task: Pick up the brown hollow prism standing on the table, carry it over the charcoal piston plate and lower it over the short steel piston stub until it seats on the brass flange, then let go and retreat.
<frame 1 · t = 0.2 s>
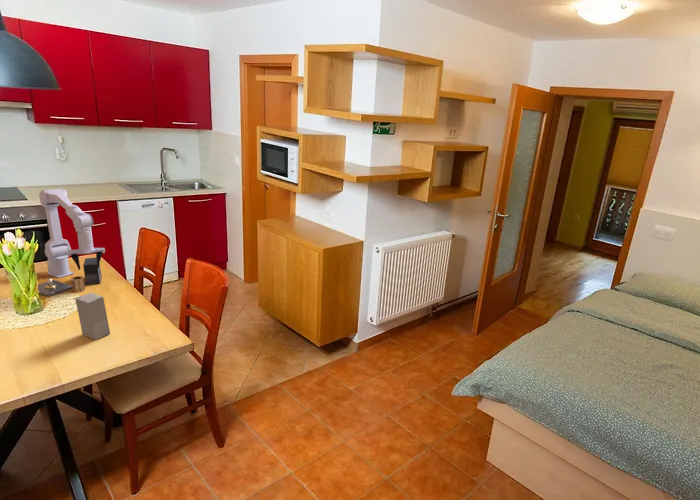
hand: (88, 268, 207), 10 cm above the table, fingers open, 7 cm apart
small box: (93, 281, 218), on the table
brown hollow prism: (79, 289, 207), on the table
skincare box: (95, 335, 169), on the table
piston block: (51, 289, 206), on the table
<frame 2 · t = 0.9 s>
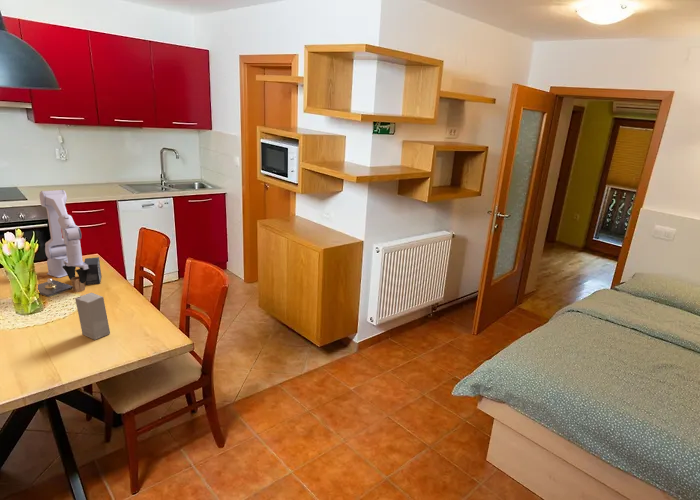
hand: (77, 281, 205), 4 cm above the table, fingers open, 7 cm apart
nothing on the table moved.
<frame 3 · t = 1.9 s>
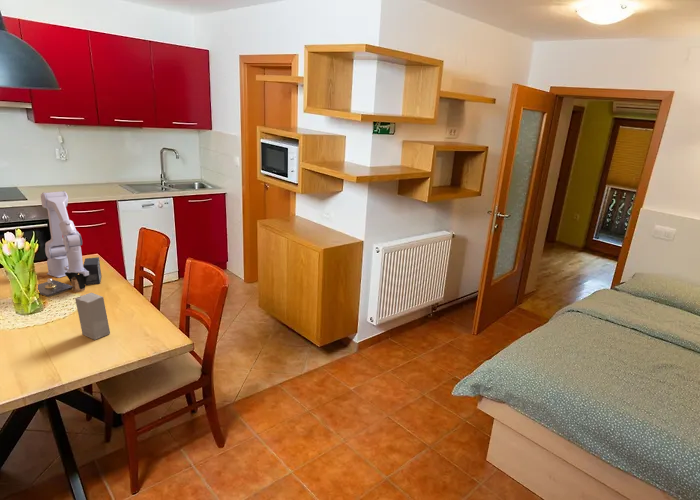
hand: (78, 287, 206), 1 cm above the table, fingers closed on brown hollow prism, 5 cm apart
brown hollow prism: (79, 289, 207), on the table, touching gripper
everything else where it was.
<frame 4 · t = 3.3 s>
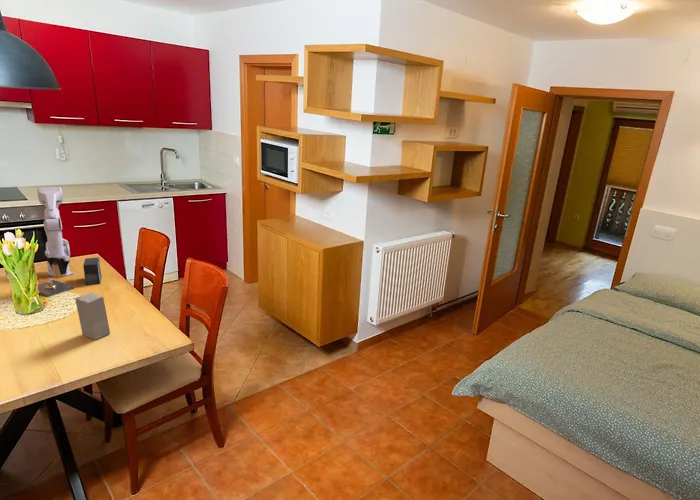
hand: (59, 272, 204), 8 cm above the table, fingers closed on brown hollow prism, 5 cm apart
brown hollow prism: (60, 275, 204), point 7 cm above the table, touching gripper
everything else where it was.
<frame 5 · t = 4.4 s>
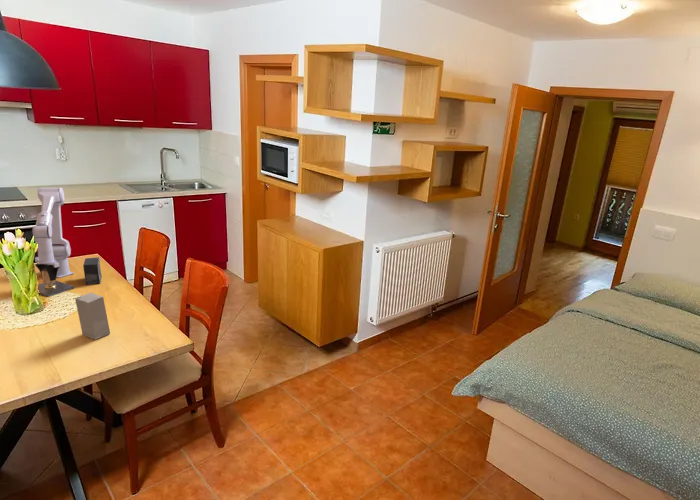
hand: (49, 278, 204), 5 cm above the table, fingers closed on brown hollow prism, 5 cm apart
brown hollow prism: (49, 281, 205), point 4 cm above the table, touching gripper
everything else where it was.
when the fingers open (4 cm above the table, at t = 5.1 s): brown hollow prism drops 1 cm, resting on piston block.
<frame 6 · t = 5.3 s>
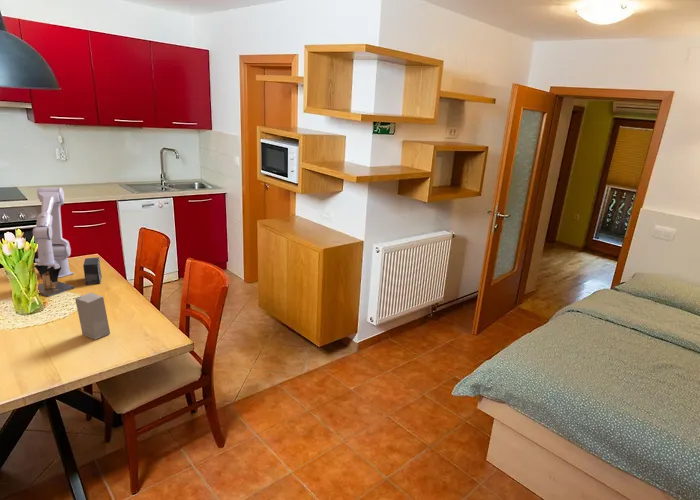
hand: (49, 280, 204), 4 cm above the table, fingers open, 7 cm apart
brown hollow prism: (50, 285, 205), point 2 cm above the table, touching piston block
everything else where it was.
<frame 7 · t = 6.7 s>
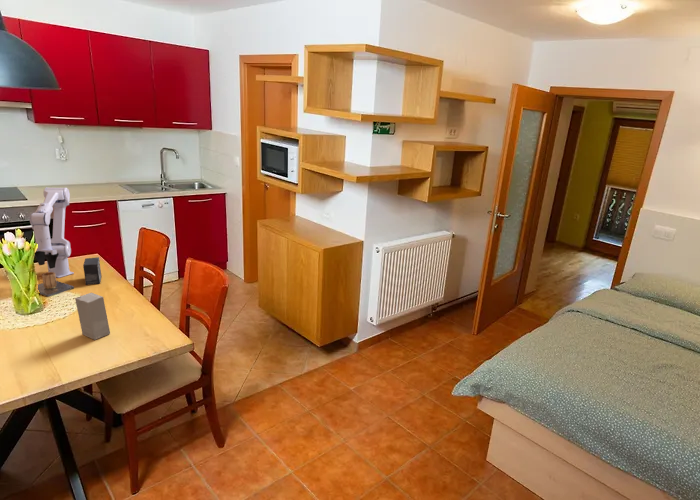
hand: (47, 266, 206), 10 cm above the table, fingers open, 7 cm apart
nothing on the table moved.
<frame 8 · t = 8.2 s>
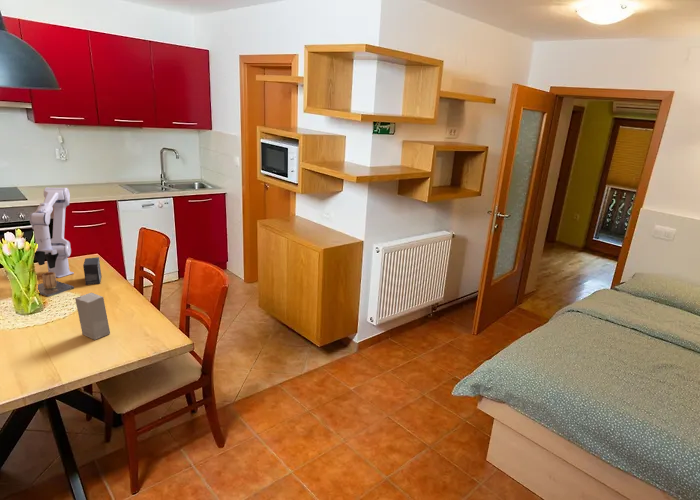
hand: (47, 266, 206), 10 cm above the table, fingers open, 7 cm apart
nothing on the table moved.
at the end: brown hollow prism 0.1 cm from the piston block (horizontally); brown hollow prism point 1.6 cm above the table; brown hollow prism tilted 0° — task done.
